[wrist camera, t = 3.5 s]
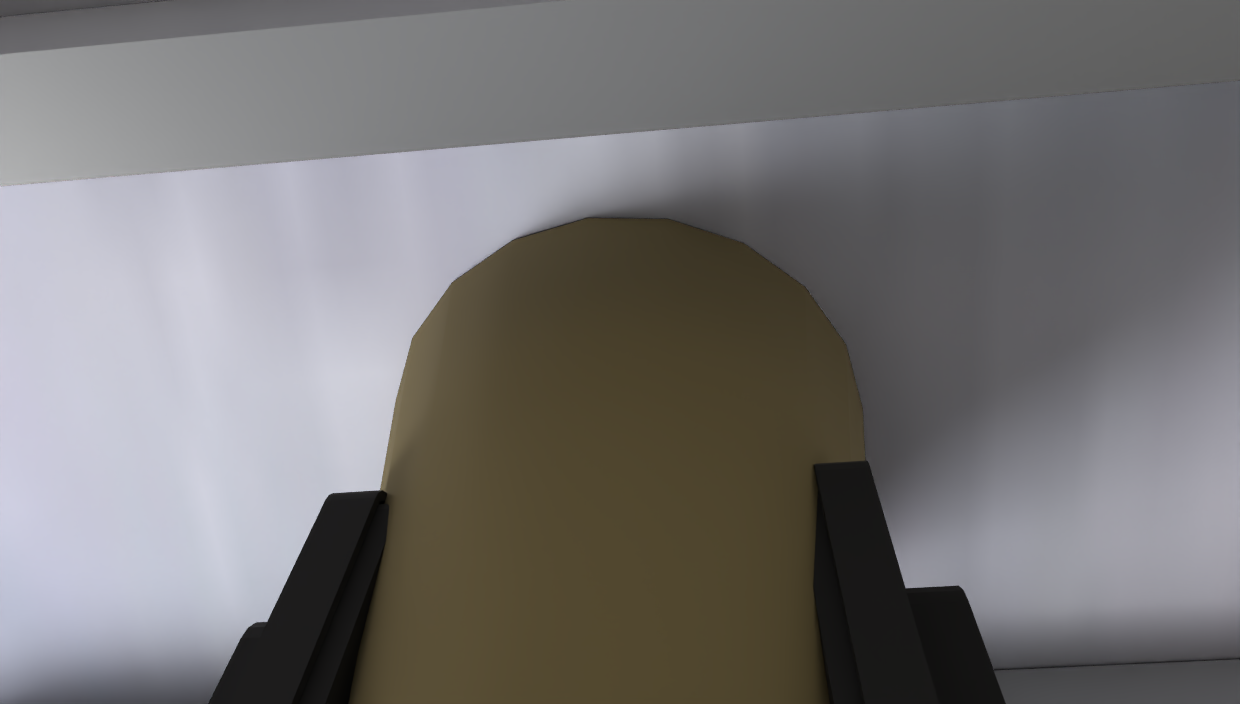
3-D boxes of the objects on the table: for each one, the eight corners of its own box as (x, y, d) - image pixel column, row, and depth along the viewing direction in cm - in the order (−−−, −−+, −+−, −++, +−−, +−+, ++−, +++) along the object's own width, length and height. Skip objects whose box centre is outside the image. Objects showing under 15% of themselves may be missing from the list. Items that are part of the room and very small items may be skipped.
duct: (1506, 760, 16) (1668, 950, 14) (-86, 821, 18) (-214, 997, 16) (1837, -164, 11) (2220, -146, 8) (-499, 65, 13) (-805, 140, 10)
